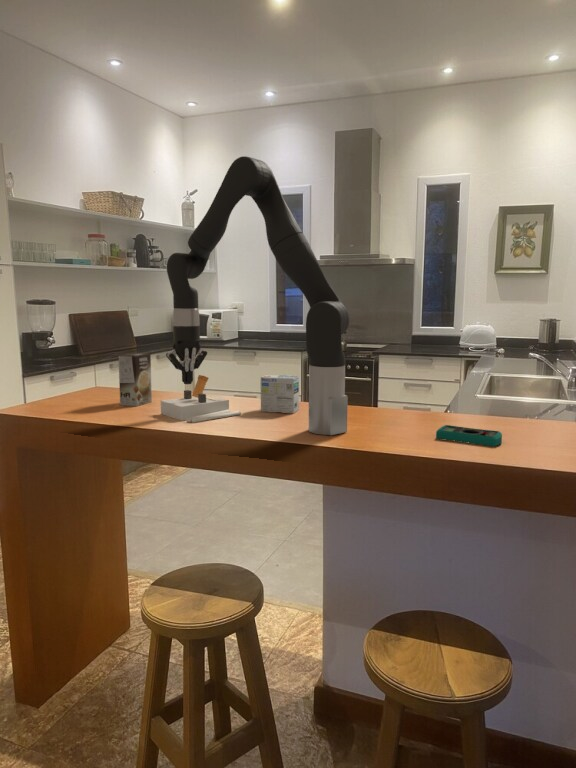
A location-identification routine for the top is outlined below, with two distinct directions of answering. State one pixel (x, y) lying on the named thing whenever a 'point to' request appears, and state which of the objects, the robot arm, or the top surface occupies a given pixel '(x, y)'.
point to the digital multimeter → (469, 435)
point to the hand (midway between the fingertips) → (187, 383)
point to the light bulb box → (280, 393)
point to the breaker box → (193, 406)
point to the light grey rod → (216, 416)
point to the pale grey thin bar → (208, 415)
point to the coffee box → (135, 379)
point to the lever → (200, 385)
